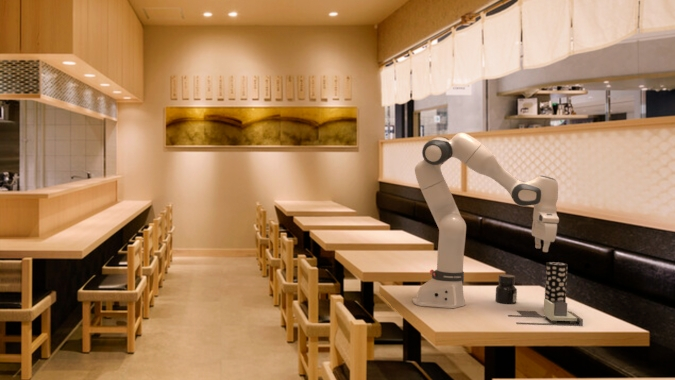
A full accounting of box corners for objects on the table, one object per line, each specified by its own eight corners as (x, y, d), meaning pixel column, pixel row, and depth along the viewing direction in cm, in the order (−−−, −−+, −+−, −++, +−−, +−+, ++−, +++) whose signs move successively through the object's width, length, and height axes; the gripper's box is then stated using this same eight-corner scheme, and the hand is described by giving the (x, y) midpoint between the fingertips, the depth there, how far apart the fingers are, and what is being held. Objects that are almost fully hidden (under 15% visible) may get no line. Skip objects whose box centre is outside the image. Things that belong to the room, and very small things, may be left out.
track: (516, 325, 244) (517, 317, 244) (507, 316, 256) (508, 309, 256) (582, 327, 244) (583, 319, 244) (570, 318, 256) (570, 311, 256)
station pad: (521, 316, 258) (521, 315, 258) (516, 311, 266) (516, 310, 266) (541, 316, 258) (541, 315, 258) (535, 312, 266) (535, 311, 266)
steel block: (555, 315, 248) (555, 303, 248) (551, 313, 252) (551, 300, 252) (566, 316, 248) (567, 303, 248) (562, 313, 252) (563, 300, 252)
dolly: (550, 324, 246) (551, 304, 245) (543, 318, 255) (544, 299, 254) (577, 325, 246) (578, 305, 245) (568, 319, 255) (569, 299, 254)
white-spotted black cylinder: (562, 314, 264) (565, 266, 263) (541, 311, 268) (544, 263, 267) (567, 310, 271) (569, 263, 270) (546, 307, 275) (549, 261, 274)
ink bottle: (519, 305, 278) (521, 278, 277) (499, 305, 277) (501, 277, 276) (511, 300, 287) (512, 273, 287) (492, 300, 286) (493, 273, 286)
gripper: (529, 213, 271) (526, 245, 272) (544, 218, 251) (541, 253, 252) (544, 214, 271) (541, 246, 272) (560, 219, 251) (557, 254, 252)
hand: (541, 250), depth 262 cm, fingers open, 8 cm apart
